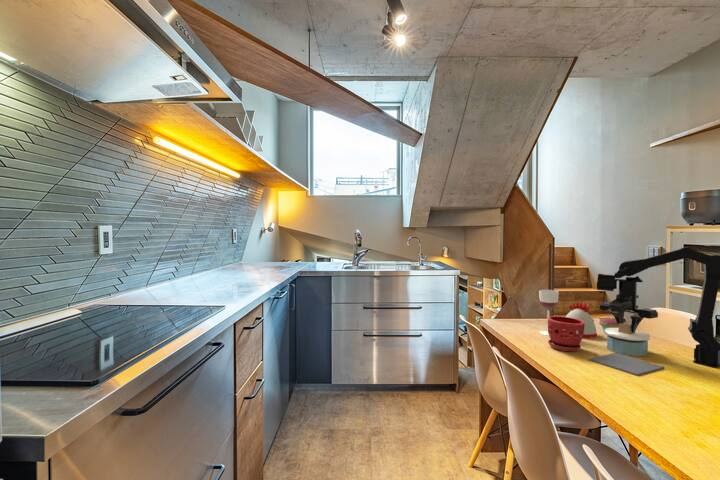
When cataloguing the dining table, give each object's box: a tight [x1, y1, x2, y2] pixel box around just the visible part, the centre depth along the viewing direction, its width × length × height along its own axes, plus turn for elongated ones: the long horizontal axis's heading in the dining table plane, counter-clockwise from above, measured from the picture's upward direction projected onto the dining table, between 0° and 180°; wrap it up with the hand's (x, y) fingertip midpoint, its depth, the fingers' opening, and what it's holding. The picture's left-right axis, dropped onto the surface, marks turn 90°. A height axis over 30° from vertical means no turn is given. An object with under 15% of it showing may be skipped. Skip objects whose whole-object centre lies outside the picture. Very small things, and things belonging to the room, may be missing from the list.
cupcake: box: [598, 314, 619, 333], centre depth 170 cm, size 9×8×12 cm
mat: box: [588, 352, 665, 377], centre depth 129 cm, size 16×16×1 cm
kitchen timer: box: [563, 301, 598, 339], centre depth 168 cm, size 14×14×15 cm
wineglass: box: [538, 289, 560, 336], centre depth 168 cm, size 8×9×20 cm
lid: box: [604, 321, 651, 341], centre depth 144 cm, size 15×15×5 cm
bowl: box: [606, 334, 649, 357], centre depth 144 cm, size 13×13×5 cm
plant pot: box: [547, 315, 585, 352], centre depth 147 cm, size 13×13×12 cm
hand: (626, 331), depth 144 cm, fingers closed on lid, 4 cm apart
